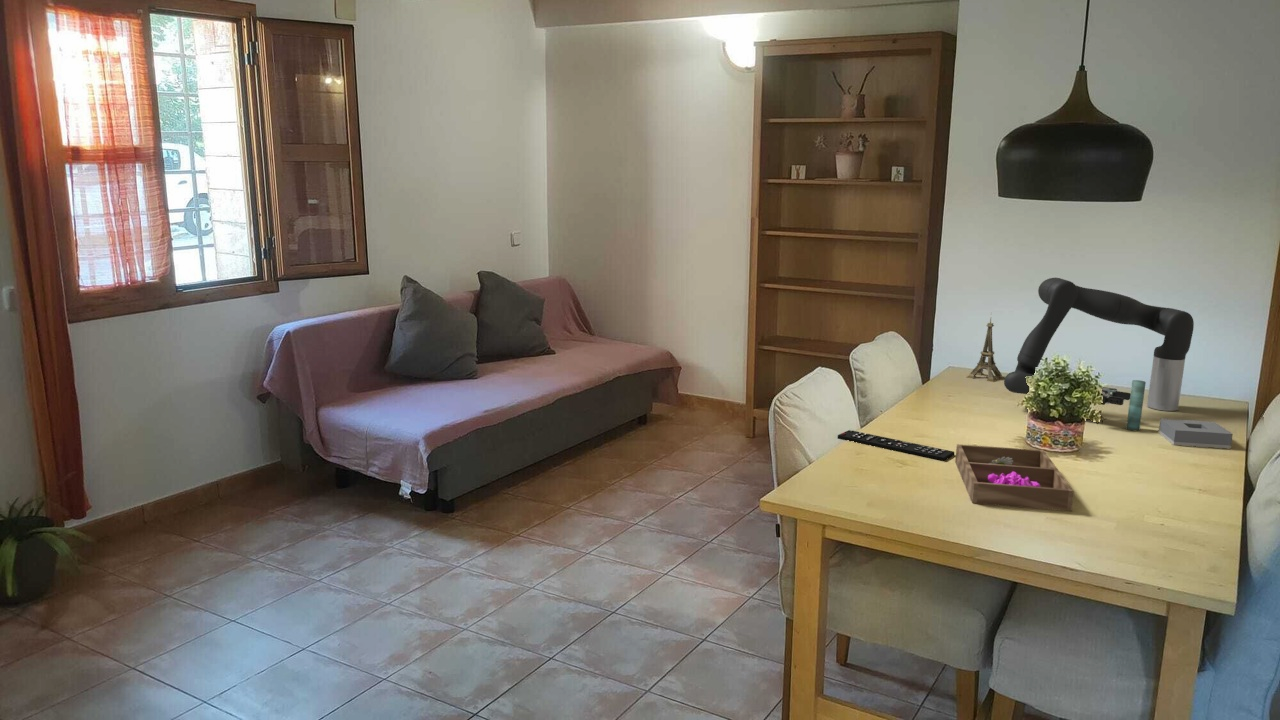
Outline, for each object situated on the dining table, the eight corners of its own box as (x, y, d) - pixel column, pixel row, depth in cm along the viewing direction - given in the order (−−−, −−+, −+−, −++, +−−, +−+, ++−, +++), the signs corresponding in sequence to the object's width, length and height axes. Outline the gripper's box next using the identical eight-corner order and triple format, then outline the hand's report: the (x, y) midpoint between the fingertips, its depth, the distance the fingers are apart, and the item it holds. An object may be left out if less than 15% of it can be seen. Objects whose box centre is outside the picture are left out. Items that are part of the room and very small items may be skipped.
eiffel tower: (966, 377, 354) (972, 312, 349) (976, 373, 362) (982, 309, 357) (994, 382, 347) (1000, 315, 342) (1004, 377, 355) (1010, 312, 350)
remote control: (848, 434, 278) (849, 428, 278) (954, 457, 259) (954, 450, 258) (836, 440, 272) (836, 433, 272) (943, 463, 253) (943, 456, 252)
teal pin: (1124, 427, 289) (1130, 379, 286) (1137, 427, 289) (1143, 380, 286) (1128, 430, 286) (1134, 382, 283) (1140, 431, 285) (1147, 383, 282)
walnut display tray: (955, 461, 252) (956, 444, 251) (1041, 468, 248) (1043, 450, 247) (972, 503, 222) (974, 483, 221) (1071, 511, 217) (1073, 490, 216)
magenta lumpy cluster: (984, 501, 223) (987, 474, 222) (986, 489, 232) (989, 463, 231) (1038, 510, 219) (1042, 483, 217) (1038, 497, 228) (1042, 471, 226)
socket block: (1158, 432, 284) (1160, 418, 283) (1212, 436, 281) (1214, 421, 280) (1173, 445, 271) (1175, 430, 270) (1230, 449, 268) (1232, 433, 268)
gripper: (1065, 382, 291) (1122, 391, 281) (1078, 375, 302) (1133, 383, 292) (1063, 406, 293) (1119, 415, 283) (1076, 398, 303) (1130, 406, 293)
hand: (1126, 399), depth 287 cm, fingers open, 8 cm apart
